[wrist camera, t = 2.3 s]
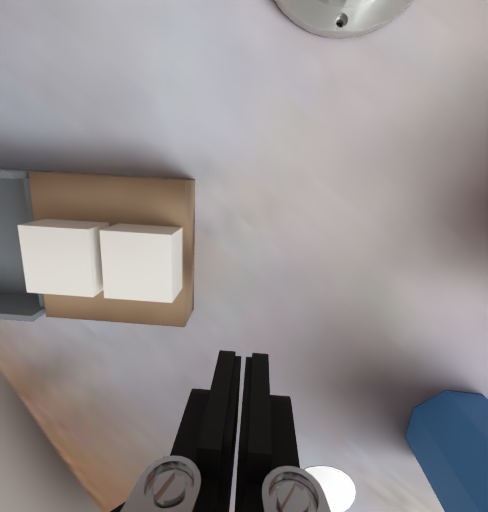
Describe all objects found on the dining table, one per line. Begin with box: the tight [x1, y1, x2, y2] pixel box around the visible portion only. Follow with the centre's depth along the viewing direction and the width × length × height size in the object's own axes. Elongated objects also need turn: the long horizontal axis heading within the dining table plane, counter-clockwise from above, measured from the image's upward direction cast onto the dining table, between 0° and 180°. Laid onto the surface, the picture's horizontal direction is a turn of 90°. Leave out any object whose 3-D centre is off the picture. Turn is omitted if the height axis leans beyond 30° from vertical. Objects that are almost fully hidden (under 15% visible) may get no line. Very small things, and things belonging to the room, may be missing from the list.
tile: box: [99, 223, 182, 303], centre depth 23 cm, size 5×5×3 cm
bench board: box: [28, 172, 195, 327], centre depth 27 cm, size 12×12×4 cm
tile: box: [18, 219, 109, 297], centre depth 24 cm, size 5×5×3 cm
